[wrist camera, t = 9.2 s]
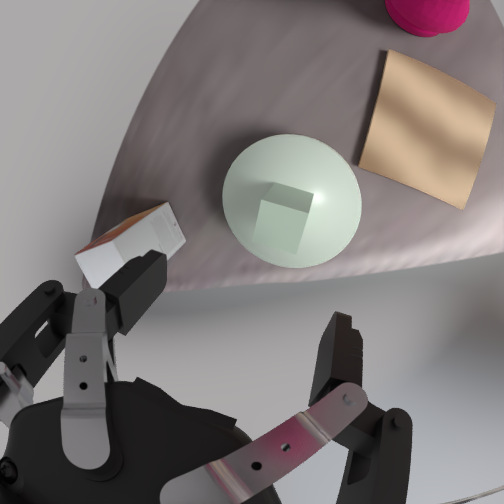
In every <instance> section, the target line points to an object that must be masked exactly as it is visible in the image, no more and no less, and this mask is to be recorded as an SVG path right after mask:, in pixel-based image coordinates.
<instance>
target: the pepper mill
mask: <svg viewBox="0 0 504 504" xmlns="http://www.w3.org/2000/svg"><path fill="white" fill-rule="evenodd" d="M385 6H386V9H387V11H388V13H389V15H390V16H391V18H392V19H393V20H394V21H395V23H396V24H398V25H399V26H400V27H401V28H402V29H404V30H406V31H407V32H409V33H411V34H414V35H417V36H421V37H432V36H436V35H438V34H439V33H448V32H452V31H454V30H456V29H457V28H459V27H460V26H461V25H462V24H463V23H464V22H465V20H466V18H467V16H468V13H469V0H385Z"/></svg>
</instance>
